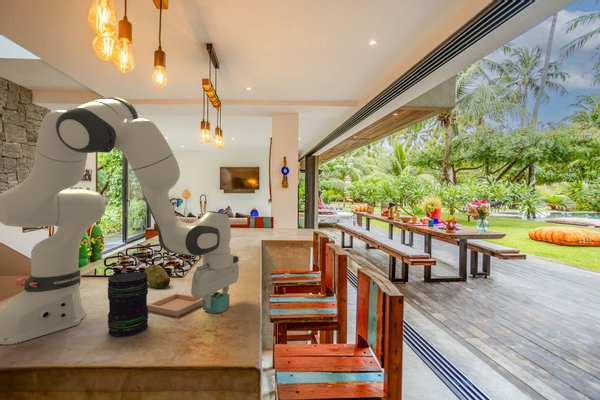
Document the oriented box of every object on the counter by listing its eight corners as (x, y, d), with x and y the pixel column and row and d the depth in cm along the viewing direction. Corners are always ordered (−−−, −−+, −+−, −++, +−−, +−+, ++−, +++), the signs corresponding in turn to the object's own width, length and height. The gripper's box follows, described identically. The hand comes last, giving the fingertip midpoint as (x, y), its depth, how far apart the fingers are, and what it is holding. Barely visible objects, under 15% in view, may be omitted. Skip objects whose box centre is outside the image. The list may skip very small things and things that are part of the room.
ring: (218, 312, 99) (218, 300, 99) (202, 309, 102) (202, 297, 102) (229, 306, 105) (229, 294, 105) (214, 303, 107) (214, 291, 107)
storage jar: (139, 319, 95) (138, 269, 95) (154, 328, 89) (154, 275, 88) (102, 330, 87) (101, 276, 87) (116, 341, 81) (115, 283, 81)
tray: (177, 318, 96) (177, 311, 96) (145, 311, 101) (145, 304, 101) (205, 304, 108) (205, 297, 108) (176, 298, 113) (176, 292, 113)
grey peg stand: (218, 314, 99) (218, 297, 99) (200, 311, 102) (200, 294, 101) (231, 307, 105) (231, 291, 105) (214, 304, 108) (214, 288, 108)
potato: (148, 292, 121) (148, 271, 120) (142, 283, 131) (142, 264, 131) (171, 288, 125) (171, 268, 125) (163, 280, 136) (163, 262, 136)
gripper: (203, 269, 92) (203, 316, 93) (242, 256, 111) (241, 295, 111) (186, 266, 95) (186, 312, 95) (227, 254, 113) (226, 292, 114)
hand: (216, 303), depth 103 cm, fingers closed on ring, 6 cm apart
